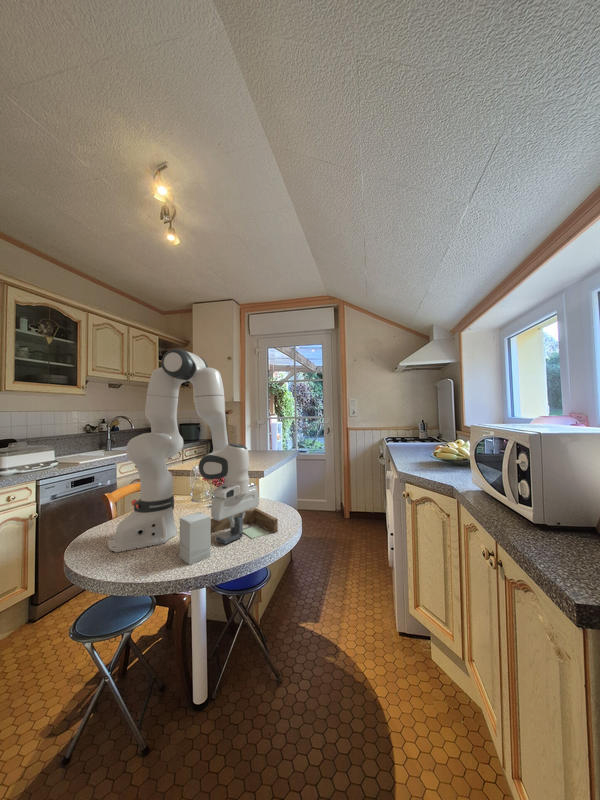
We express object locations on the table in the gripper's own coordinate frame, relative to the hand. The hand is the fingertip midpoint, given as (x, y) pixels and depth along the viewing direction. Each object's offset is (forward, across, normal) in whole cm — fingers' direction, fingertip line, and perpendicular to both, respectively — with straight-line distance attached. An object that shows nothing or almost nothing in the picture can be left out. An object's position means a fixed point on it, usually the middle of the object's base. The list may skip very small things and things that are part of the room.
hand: (236, 525), depth 107 cm
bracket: (+4, +3, 0) cm, 5 cm away
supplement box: (+5, +18, +1) cm, 18 cm away
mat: (+4, -7, +2) cm, 8 cm away
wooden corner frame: (+4, -4, -1) cm, 6 cm away
